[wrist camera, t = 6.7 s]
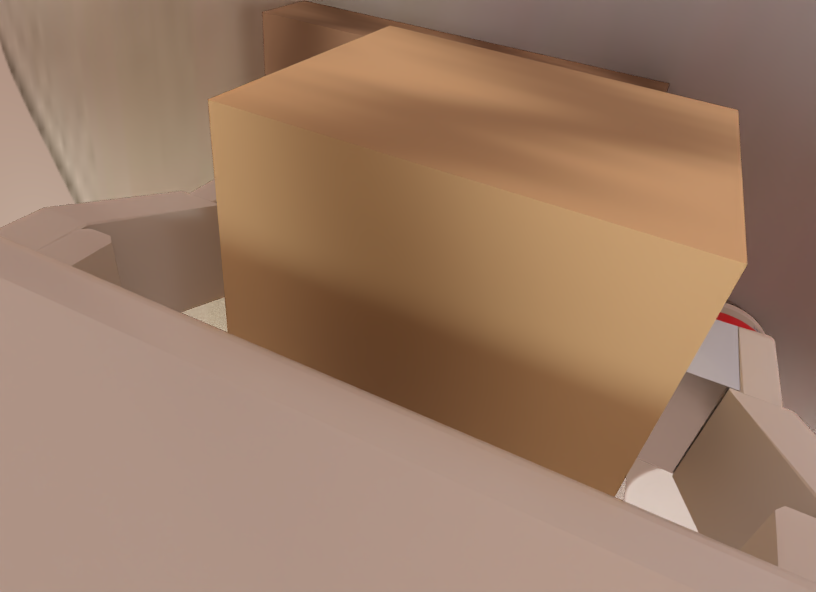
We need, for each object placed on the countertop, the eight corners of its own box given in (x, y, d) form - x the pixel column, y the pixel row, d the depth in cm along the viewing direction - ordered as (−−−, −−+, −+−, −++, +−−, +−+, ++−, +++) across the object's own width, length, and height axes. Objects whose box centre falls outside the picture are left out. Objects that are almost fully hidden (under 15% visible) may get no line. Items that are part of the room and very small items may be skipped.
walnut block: (670, 80, 25) (661, 107, 22) (560, 376, 36) (544, 420, 33) (308, -1, 30) (262, 12, 27) (308, 281, 41) (274, 313, 38)
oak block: (737, 110, 9) (746, 264, 5) (611, 381, 13) (563, 586, 9) (390, 25, 11) (207, 99, 7) (365, 288, 14) (236, 430, 11)
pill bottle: (774, 391, 30) (789, 582, 22) (647, 390, 34) (619, 556, 25) (765, 288, 28) (777, 459, 19) (628, 297, 31) (590, 447, 23)
